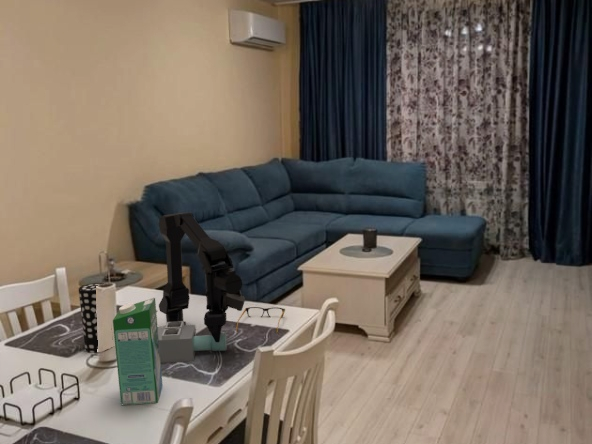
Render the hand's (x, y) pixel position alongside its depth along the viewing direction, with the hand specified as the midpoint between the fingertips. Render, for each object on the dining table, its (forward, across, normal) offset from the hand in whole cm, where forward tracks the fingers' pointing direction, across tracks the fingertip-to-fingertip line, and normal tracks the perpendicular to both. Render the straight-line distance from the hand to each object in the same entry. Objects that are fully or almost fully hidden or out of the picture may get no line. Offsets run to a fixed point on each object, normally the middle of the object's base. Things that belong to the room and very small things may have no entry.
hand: (218, 336), depth 172 cm
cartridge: (+4, 0, +8) cm, 9 cm away
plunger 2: (-2, -3, +13) cm, 14 cm away
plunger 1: (-2, +3, +13) cm, 14 cm away
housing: (+5, 0, +13) cm, 14 cm away
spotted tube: (+5, +9, +38) cm, 40 cm away
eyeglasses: (+6, +21, -13) cm, 26 cm away
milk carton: (+5, -25, +18) cm, 32 cm away
